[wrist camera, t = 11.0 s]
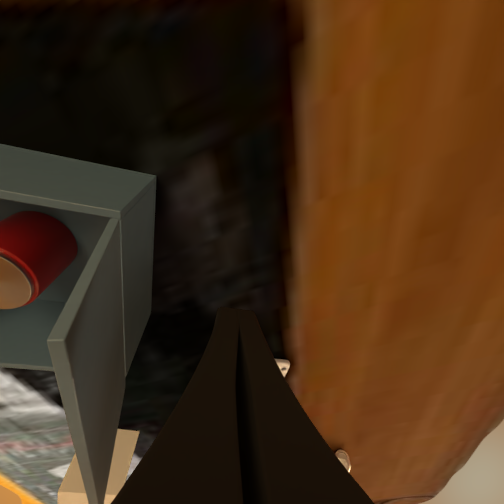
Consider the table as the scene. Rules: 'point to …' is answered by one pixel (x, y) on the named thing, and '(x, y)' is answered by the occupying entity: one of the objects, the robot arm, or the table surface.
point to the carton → (86, 235)
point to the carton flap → (93, 361)
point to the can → (32, 256)
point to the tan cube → (72, 487)
